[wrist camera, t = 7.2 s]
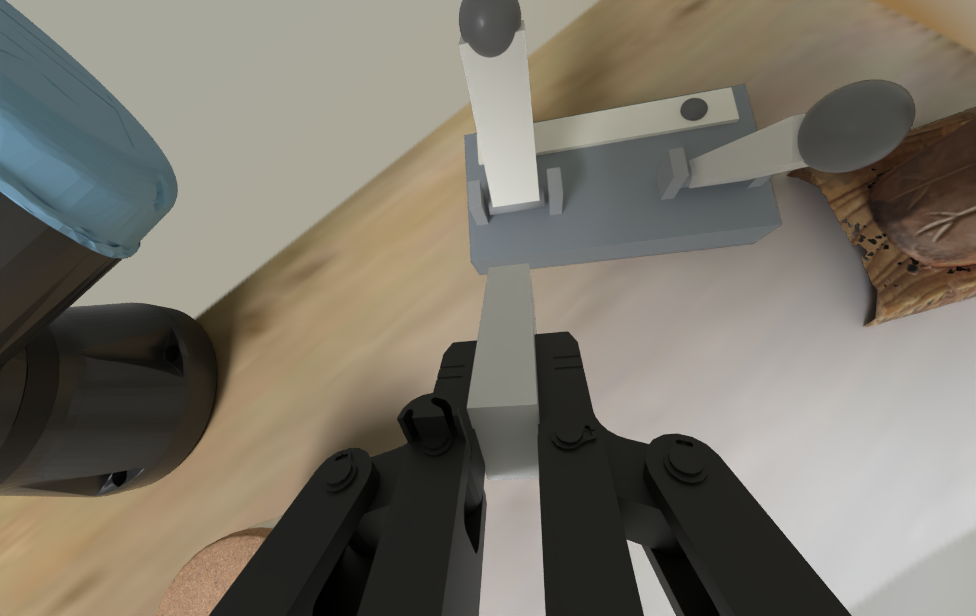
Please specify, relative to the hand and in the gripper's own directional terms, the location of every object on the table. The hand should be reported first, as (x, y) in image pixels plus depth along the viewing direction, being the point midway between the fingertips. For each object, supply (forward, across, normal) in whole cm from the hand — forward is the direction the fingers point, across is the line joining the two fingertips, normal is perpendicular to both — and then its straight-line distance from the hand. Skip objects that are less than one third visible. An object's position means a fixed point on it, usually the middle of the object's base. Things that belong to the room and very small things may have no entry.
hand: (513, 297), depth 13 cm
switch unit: (+16, +6, -2) cm, 17 cm away
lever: (+12, +12, 0) cm, 17 cm away
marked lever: (+12, 0, 0) cm, 12 cm away
